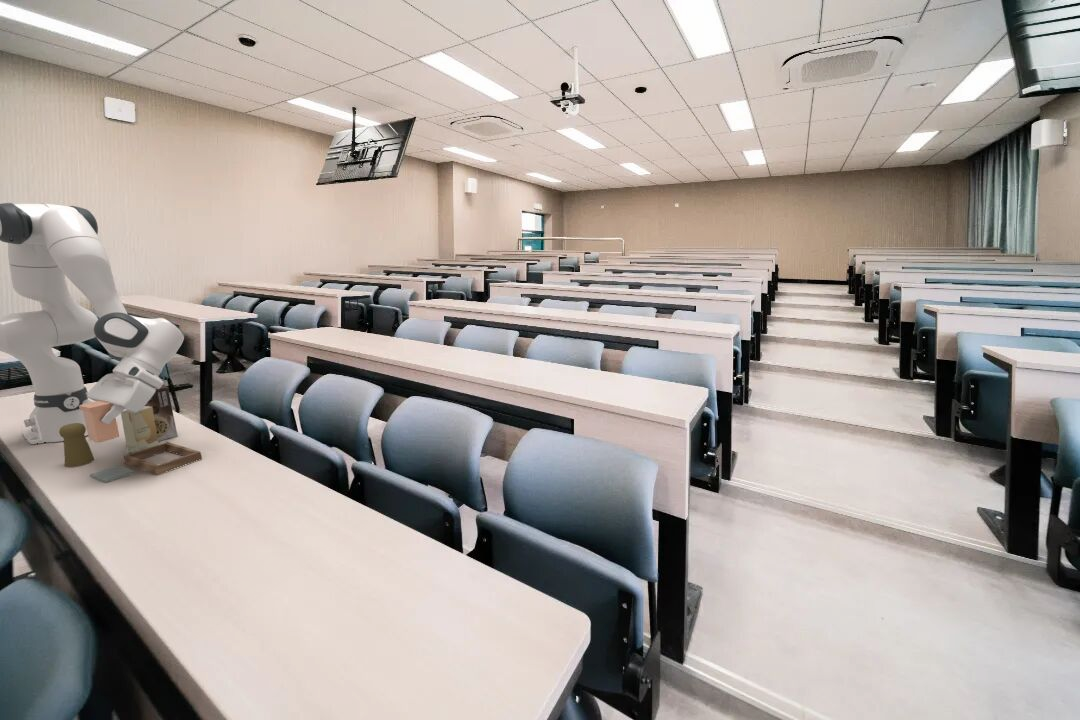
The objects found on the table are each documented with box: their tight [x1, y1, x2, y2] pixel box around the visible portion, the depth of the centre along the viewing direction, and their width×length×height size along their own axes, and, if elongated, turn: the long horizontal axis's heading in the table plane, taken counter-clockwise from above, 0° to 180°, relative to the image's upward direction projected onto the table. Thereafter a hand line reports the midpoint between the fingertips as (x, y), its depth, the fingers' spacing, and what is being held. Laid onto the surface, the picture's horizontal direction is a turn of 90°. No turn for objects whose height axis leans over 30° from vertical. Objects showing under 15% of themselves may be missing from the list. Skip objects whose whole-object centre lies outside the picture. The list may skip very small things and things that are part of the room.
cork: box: [59, 423, 95, 468], centre depth 135 cm, size 6×6×11 cm
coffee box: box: [145, 384, 178, 442], centre depth 151 cm, size 9×6×16 cm
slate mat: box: [89, 464, 135, 483], centre depth 129 cm, size 8×6×1 cm
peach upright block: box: [79, 401, 120, 444], centre depth 125 cm, size 5×5×9 cm
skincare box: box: [120, 406, 160, 453], centre depth 144 cm, size 6×4×12 cm
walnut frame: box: [123, 441, 203, 476], centre depth 136 cm, size 16×11×2 cm
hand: (97, 420), depth 125 cm, fingers closed on peach upright block, 5 cm apart
